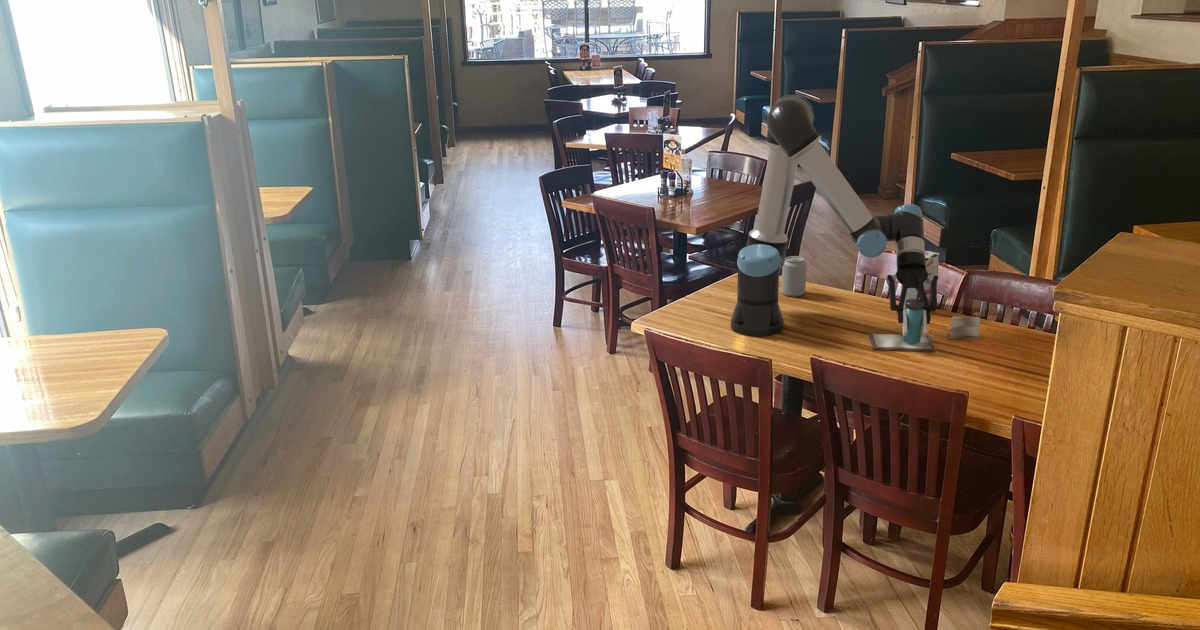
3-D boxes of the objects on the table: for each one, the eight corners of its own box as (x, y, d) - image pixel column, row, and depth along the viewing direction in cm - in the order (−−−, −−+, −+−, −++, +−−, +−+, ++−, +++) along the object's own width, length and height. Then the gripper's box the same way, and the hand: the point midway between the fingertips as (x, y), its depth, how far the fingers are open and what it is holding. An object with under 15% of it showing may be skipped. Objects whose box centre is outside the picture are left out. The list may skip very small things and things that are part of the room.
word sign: (948, 339, 239) (951, 317, 237) (947, 337, 240) (950, 315, 238) (979, 340, 237) (982, 318, 235) (978, 338, 239) (981, 316, 237)
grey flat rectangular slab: (872, 350, 234) (873, 344, 233) (868, 335, 244) (869, 330, 243) (935, 352, 231) (936, 346, 230) (928, 337, 241) (929, 331, 240)
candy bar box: (920, 301, 270) (925, 250, 264) (935, 304, 266) (940, 252, 260) (901, 309, 263) (905, 257, 257) (916, 313, 259) (921, 260, 254)
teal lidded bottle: (904, 342, 234) (907, 304, 230) (901, 336, 238) (904, 298, 234) (922, 343, 233) (925, 304, 229) (919, 337, 237) (922, 299, 233)
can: (781, 297, 278) (783, 261, 274) (781, 290, 285) (782, 254, 281) (805, 297, 276) (807, 261, 272) (804, 290, 283) (806, 255, 279)
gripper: (941, 263, 242) (946, 340, 232) (876, 262, 245) (879, 338, 236) (946, 250, 235) (952, 329, 226) (879, 249, 239) (882, 327, 229)
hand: (914, 333), depth 231 cm, fingers closed on teal lidded bottle, 4 cm apart
